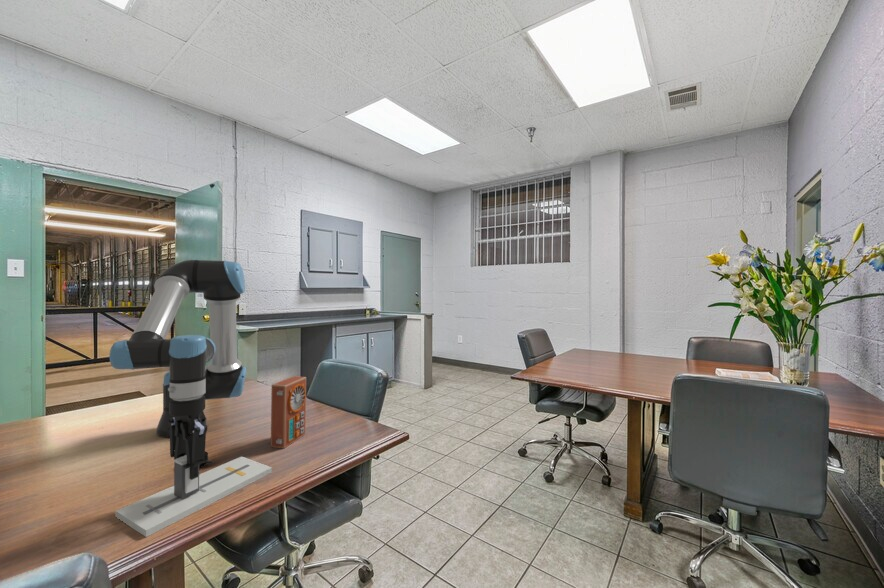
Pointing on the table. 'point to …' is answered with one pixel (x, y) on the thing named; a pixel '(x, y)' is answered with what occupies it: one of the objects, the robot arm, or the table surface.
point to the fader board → (191, 496)
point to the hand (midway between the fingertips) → (186, 487)
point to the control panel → (288, 411)
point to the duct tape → (206, 460)
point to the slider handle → (181, 478)
